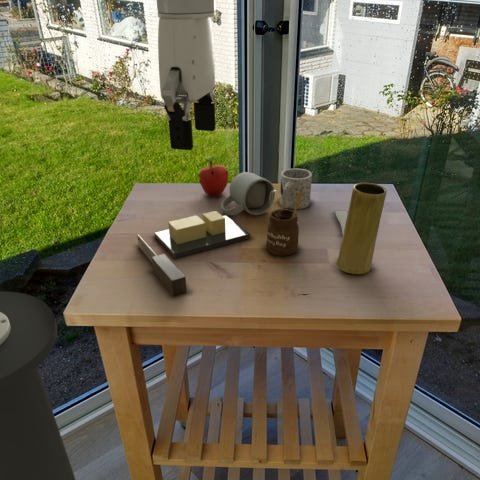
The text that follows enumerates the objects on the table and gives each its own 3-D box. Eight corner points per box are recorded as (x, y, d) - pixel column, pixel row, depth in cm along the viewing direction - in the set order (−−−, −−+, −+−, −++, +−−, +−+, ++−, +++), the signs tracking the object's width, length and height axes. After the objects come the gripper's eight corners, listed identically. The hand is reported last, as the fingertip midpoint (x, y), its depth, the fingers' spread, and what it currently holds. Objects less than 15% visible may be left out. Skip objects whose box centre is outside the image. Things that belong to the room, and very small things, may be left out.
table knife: (145, 245, 95) (143, 230, 93) (186, 292, 82) (185, 276, 80) (133, 248, 94) (131, 233, 92) (173, 296, 81) (171, 280, 79)
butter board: (174, 258, 91) (174, 253, 90) (154, 237, 98) (154, 232, 97) (250, 238, 97) (250, 233, 96) (226, 219, 104) (226, 215, 103)
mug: (286, 195, 114) (288, 166, 110) (313, 200, 112) (316, 171, 108) (269, 211, 107) (269, 181, 103) (297, 216, 105) (299, 186, 101)
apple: (196, 191, 117) (193, 148, 111) (223, 187, 119) (221, 145, 113) (206, 203, 111) (203, 159, 105) (234, 198, 113) (233, 155, 107)
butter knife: (349, 210, 106) (335, 210, 106) (361, 267, 87) (344, 266, 87) (348, 212, 106) (335, 211, 106) (361, 269, 87) (344, 268, 87)
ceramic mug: (255, 198, 113) (255, 165, 108) (275, 211, 107) (275, 176, 102) (214, 208, 109) (212, 174, 104) (232, 222, 103) (231, 187, 98)
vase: (374, 275, 85) (393, 197, 76) (338, 274, 85) (354, 194, 76) (367, 258, 90) (385, 182, 81) (333, 256, 90) (347, 180, 81)
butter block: (177, 244, 93) (176, 229, 91) (169, 236, 96) (168, 221, 94) (206, 237, 95) (205, 222, 94) (197, 229, 98) (196, 215, 96)
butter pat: (212, 235, 96) (211, 221, 94) (203, 227, 99) (202, 213, 97) (225, 232, 97) (225, 218, 95) (216, 224, 100) (215, 210, 98)
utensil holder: (276, 239, 97) (279, 179, 90) (304, 247, 94) (309, 186, 87) (259, 251, 93) (260, 189, 86) (288, 260, 90) (292, 197, 83)
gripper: (183, -2, 71) (191, 122, 81) (128, 8, 58) (146, 155, 68) (233, -2, 69) (235, 125, 80) (188, 9, 56) (197, 159, 66)
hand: (194, 139), depth 74 cm, fingers open, 9 cm apart
